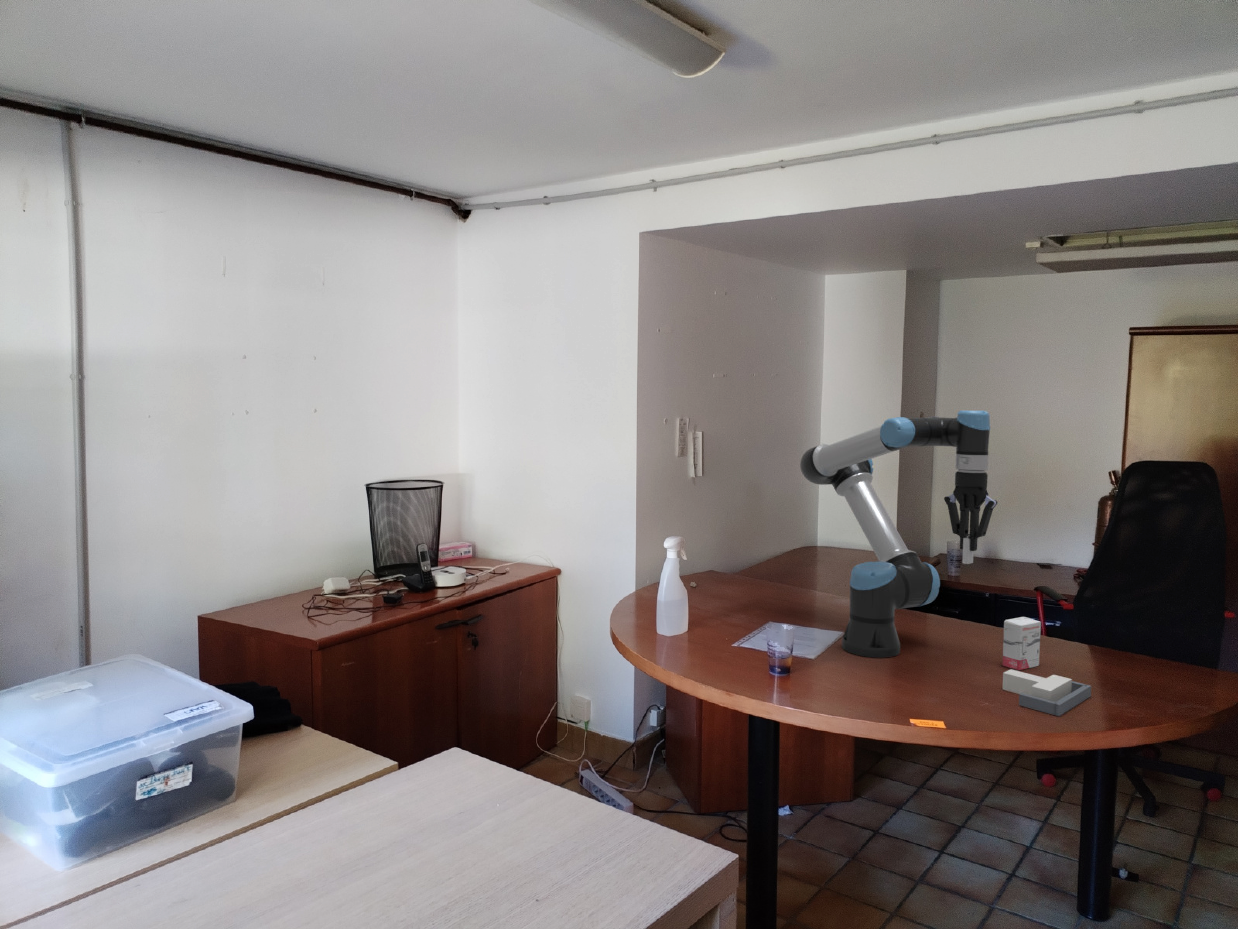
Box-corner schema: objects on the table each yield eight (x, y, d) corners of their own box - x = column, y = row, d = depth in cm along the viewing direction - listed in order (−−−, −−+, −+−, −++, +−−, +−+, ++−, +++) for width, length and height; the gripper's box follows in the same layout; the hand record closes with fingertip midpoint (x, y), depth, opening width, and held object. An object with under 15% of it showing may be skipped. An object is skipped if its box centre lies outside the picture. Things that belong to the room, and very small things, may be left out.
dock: (1018, 705, 175) (1019, 694, 175) (1052, 686, 187) (1052, 676, 187) (1058, 716, 169) (1059, 705, 169) (1090, 696, 181) (1091, 685, 181)
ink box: (1018, 671, 198) (1020, 625, 197) (1000, 665, 202) (1002, 620, 201) (1039, 666, 202) (1042, 620, 201) (1022, 660, 206) (1024, 616, 205)
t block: (994, 693, 182) (995, 676, 182) (1017, 682, 190) (1017, 665, 190) (1049, 708, 173) (1050, 691, 173) (1070, 696, 181) (1071, 679, 181)
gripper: (939, 470, 202) (936, 560, 204) (990, 473, 192) (986, 569, 194) (953, 468, 207) (950, 557, 209) (1004, 472, 197) (1000, 565, 199)
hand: (967, 562), depth 201 cm, fingers closed
